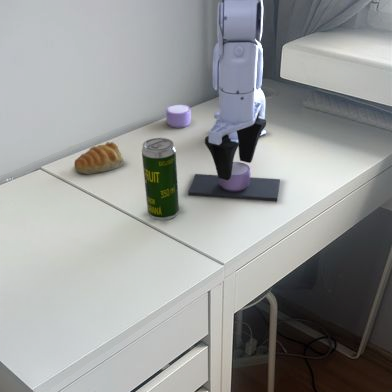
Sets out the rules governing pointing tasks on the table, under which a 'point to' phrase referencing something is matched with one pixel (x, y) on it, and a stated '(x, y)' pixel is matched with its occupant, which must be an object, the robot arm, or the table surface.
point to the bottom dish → (178, 116)
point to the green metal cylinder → (160, 178)
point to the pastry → (99, 159)
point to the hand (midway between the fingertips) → (235, 169)
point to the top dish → (237, 178)
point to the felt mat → (254, 191)
